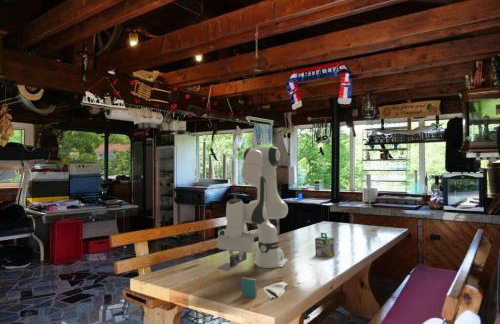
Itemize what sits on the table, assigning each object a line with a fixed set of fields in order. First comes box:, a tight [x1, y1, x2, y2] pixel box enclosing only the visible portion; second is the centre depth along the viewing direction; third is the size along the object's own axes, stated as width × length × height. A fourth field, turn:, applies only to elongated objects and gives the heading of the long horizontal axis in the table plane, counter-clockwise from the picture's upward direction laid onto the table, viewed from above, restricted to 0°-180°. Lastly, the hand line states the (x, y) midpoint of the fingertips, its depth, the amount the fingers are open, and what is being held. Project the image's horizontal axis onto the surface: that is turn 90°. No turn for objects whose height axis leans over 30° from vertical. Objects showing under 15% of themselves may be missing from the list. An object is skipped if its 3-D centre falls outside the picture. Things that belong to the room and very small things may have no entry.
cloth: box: [263, 281, 289, 300], centre depth 169 cm, size 26×14×2 cm, turn 150°
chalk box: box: [314, 232, 336, 258], centre depth 232 cm, size 9×9×15 cm
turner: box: [216, 252, 248, 271], centre depth 173 cm, size 20×6×4 cm, turn 150°
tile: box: [241, 276, 258, 299], centre depth 162 cm, size 2×7×8 cm, turn 60°
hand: (236, 259), depth 175 cm, fingers closed on turner, 2 cm apart
